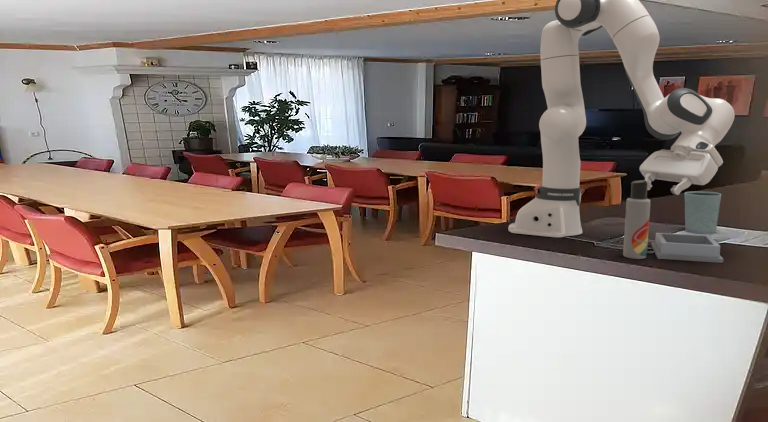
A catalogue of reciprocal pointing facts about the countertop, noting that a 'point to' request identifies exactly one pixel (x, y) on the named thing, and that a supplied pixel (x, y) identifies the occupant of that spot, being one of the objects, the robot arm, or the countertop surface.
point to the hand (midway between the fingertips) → (659, 190)
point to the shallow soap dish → (687, 247)
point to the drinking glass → (701, 211)
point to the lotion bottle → (637, 221)
